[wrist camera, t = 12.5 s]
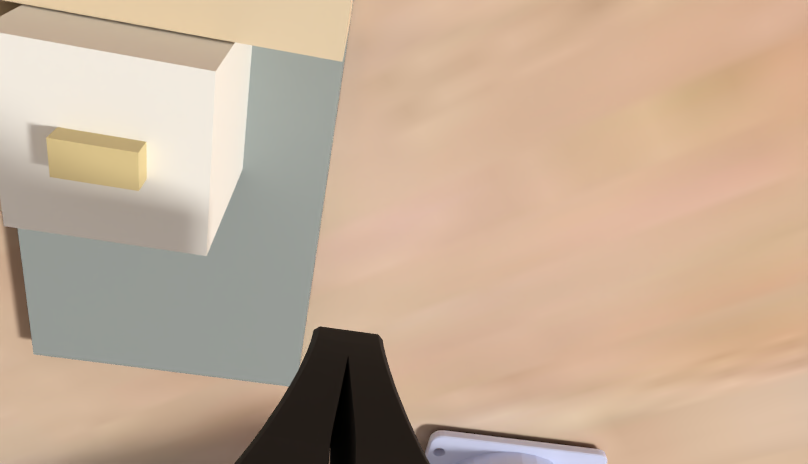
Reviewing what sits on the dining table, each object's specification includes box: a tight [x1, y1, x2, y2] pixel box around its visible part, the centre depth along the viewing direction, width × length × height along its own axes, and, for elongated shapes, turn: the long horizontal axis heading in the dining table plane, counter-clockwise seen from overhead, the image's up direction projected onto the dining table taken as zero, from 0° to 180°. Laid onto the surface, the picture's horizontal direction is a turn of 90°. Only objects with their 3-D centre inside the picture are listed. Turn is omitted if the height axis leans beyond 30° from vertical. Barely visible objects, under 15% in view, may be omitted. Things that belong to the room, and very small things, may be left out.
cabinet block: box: [0, 4, 252, 256], centre depth 18 cm, size 5×5×6 cm
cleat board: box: [0, 0, 354, 386], centre depth 21 cm, size 16×10×4 cm, turn 169°
